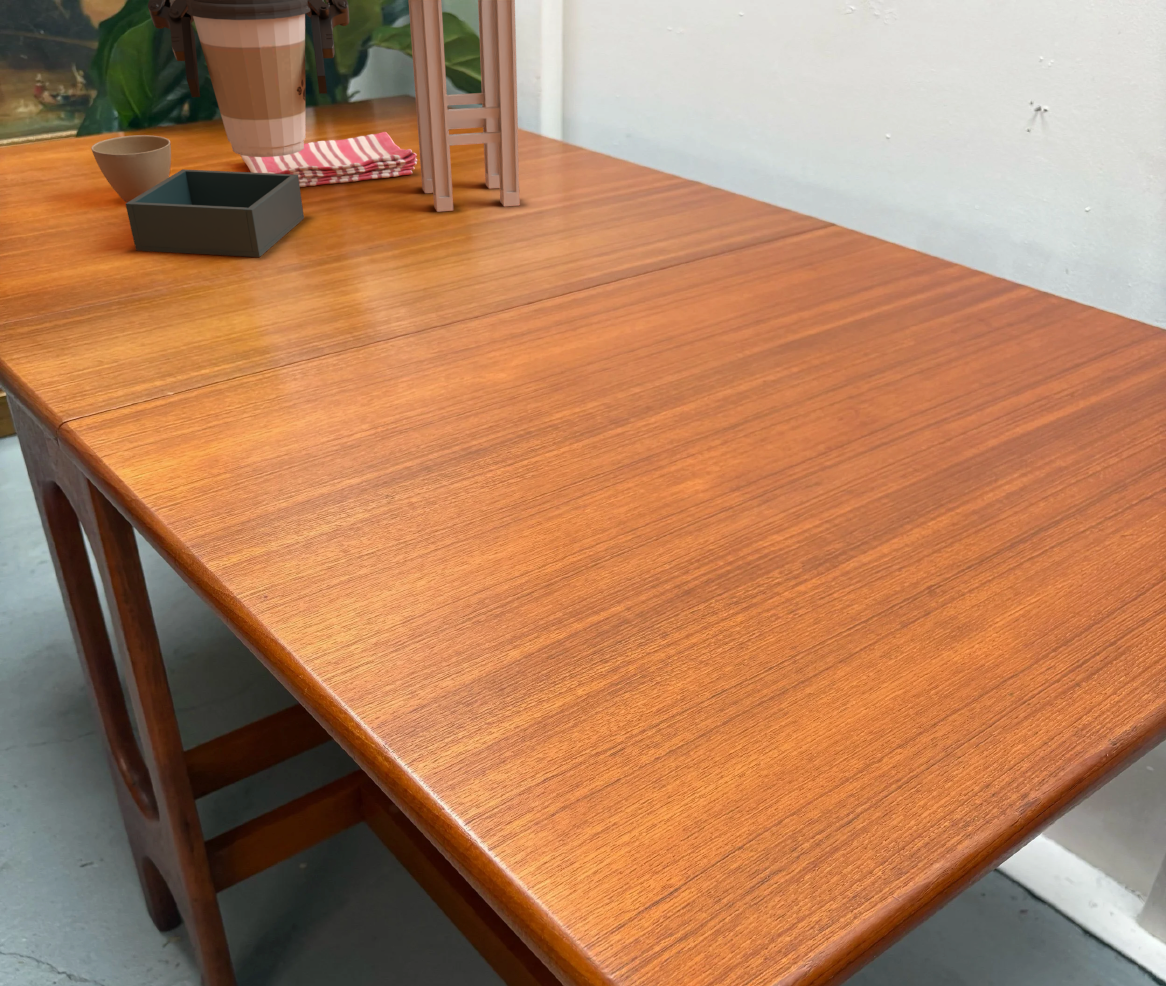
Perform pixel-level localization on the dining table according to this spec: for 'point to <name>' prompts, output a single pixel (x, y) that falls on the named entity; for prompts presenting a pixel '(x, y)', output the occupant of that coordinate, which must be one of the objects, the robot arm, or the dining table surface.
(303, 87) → the coffee cup
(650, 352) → the dining table surface
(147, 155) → the beige bowl
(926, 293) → the dining table surface
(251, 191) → the bin
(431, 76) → the stool
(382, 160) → the dish towel
